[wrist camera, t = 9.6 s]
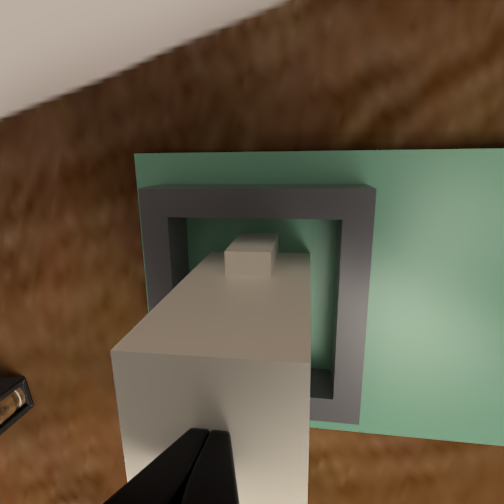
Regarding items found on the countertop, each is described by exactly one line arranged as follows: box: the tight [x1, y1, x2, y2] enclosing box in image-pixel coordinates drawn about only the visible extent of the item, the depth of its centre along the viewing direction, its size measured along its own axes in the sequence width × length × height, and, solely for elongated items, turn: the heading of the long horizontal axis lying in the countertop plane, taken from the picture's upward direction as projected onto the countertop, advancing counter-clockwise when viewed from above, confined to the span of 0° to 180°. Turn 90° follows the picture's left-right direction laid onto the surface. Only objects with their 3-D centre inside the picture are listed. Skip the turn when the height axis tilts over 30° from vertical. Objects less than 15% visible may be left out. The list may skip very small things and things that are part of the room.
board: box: [134, 148, 504, 446], centre depth 14 cm, size 18×12×3 cm, turn 91°
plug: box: [110, 233, 311, 504], centre depth 12 cm, size 4×8×8 cm, turn 1°
